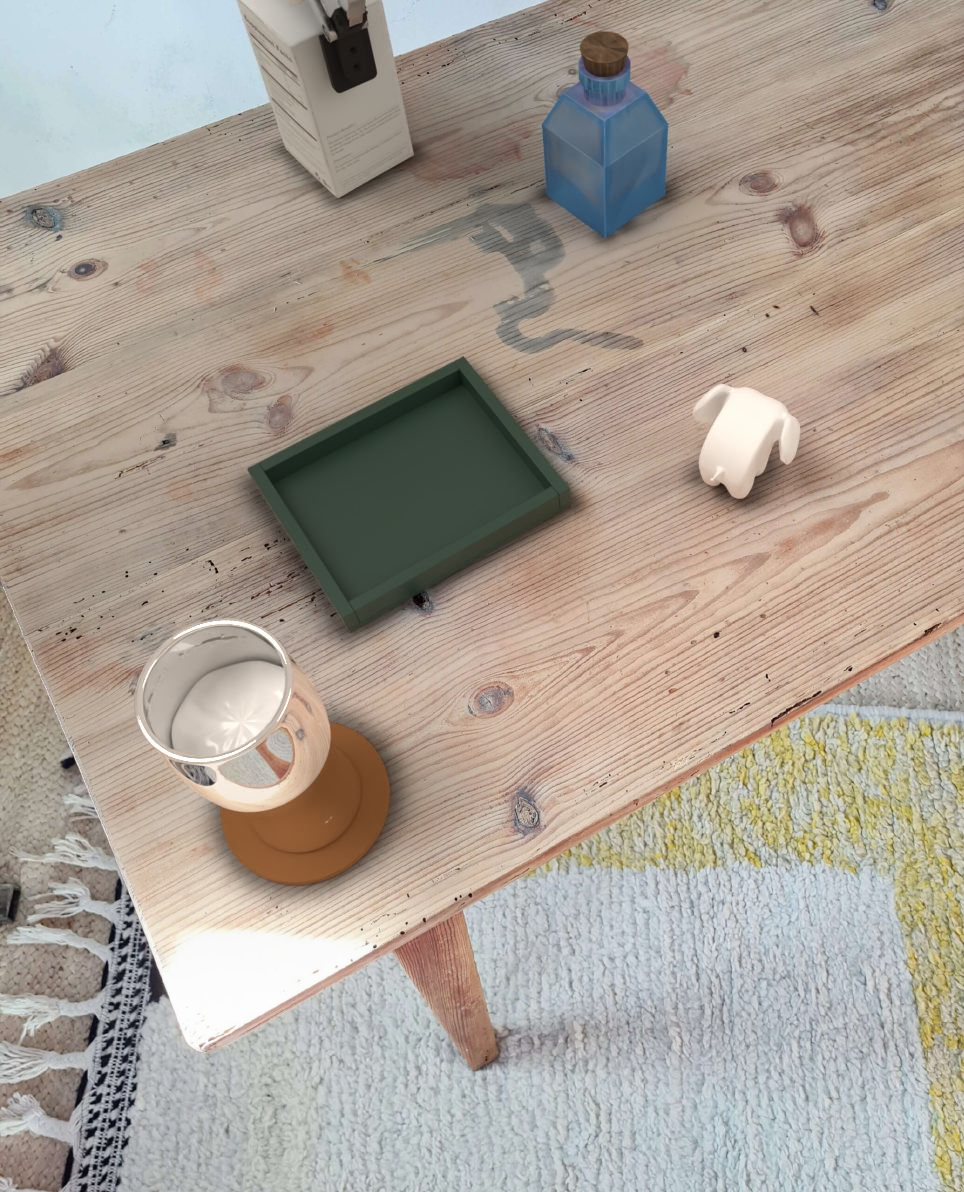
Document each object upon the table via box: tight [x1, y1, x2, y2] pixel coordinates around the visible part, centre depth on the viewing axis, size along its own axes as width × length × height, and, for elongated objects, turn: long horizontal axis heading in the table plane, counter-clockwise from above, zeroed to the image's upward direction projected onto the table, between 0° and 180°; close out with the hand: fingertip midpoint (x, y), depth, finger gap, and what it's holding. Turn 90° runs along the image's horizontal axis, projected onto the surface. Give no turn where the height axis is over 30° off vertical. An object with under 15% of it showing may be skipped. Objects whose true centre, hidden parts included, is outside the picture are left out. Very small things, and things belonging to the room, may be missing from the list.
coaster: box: [220, 721, 391, 886], centre depth 58 cm, size 9×9×1 cm
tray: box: [246, 355, 572, 634], centre depth 67 cm, size 16×13×2 cm
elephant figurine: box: [691, 383, 801, 500], centre depth 66 cm, size 7×8×6 cm
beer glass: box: [133, 617, 361, 853], centre depth 51 cm, size 7×7×15 cm
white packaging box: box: [236, 0, 415, 199], centre depth 77 cm, size 7×7×13 cm
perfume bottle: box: [541, 30, 669, 239], centre depth 74 cm, size 6×6×12 cm
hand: (322, 45), depth 74 cm, fingers open, 9 cm apart
